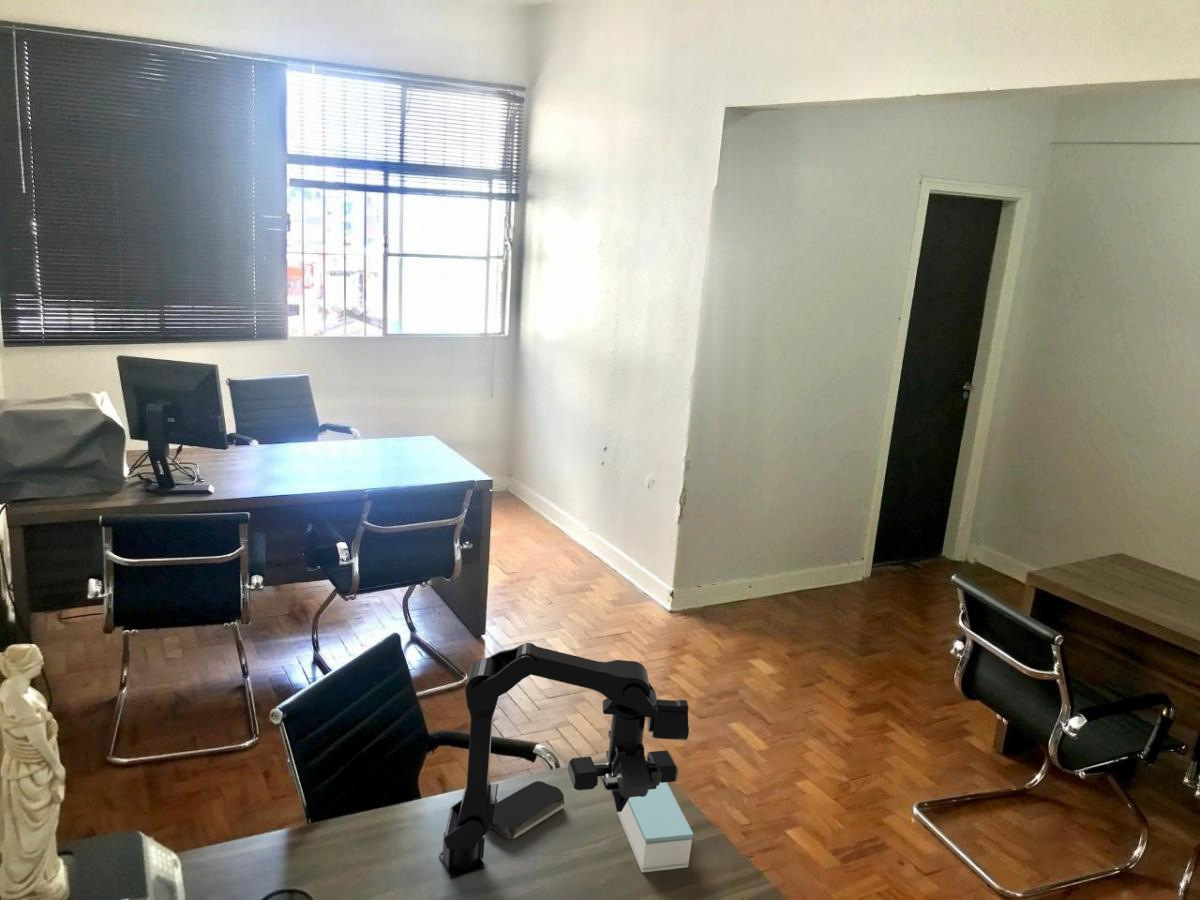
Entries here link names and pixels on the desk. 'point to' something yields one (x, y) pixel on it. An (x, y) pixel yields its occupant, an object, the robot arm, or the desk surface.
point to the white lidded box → (654, 847)
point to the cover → (659, 815)
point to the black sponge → (526, 809)
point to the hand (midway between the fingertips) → (618, 810)
